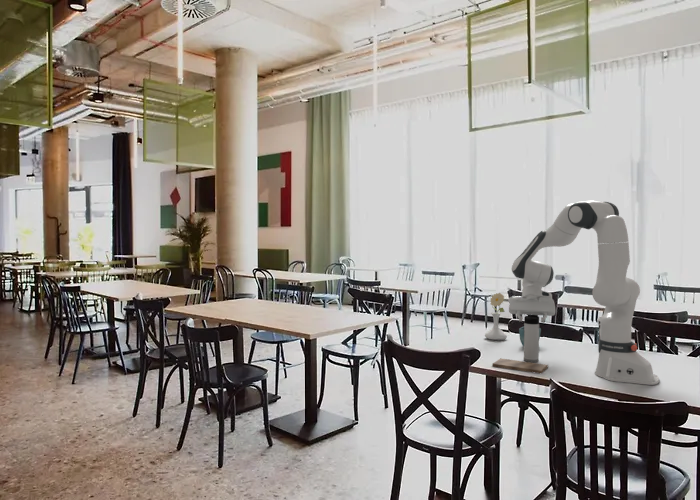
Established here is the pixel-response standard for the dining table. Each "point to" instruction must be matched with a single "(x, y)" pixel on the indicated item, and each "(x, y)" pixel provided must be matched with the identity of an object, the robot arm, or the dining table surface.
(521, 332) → the flower pot
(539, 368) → the walnut board
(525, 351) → the travel mug
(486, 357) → the dining table surface
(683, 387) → the dining table surface
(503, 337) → the flower in vase
